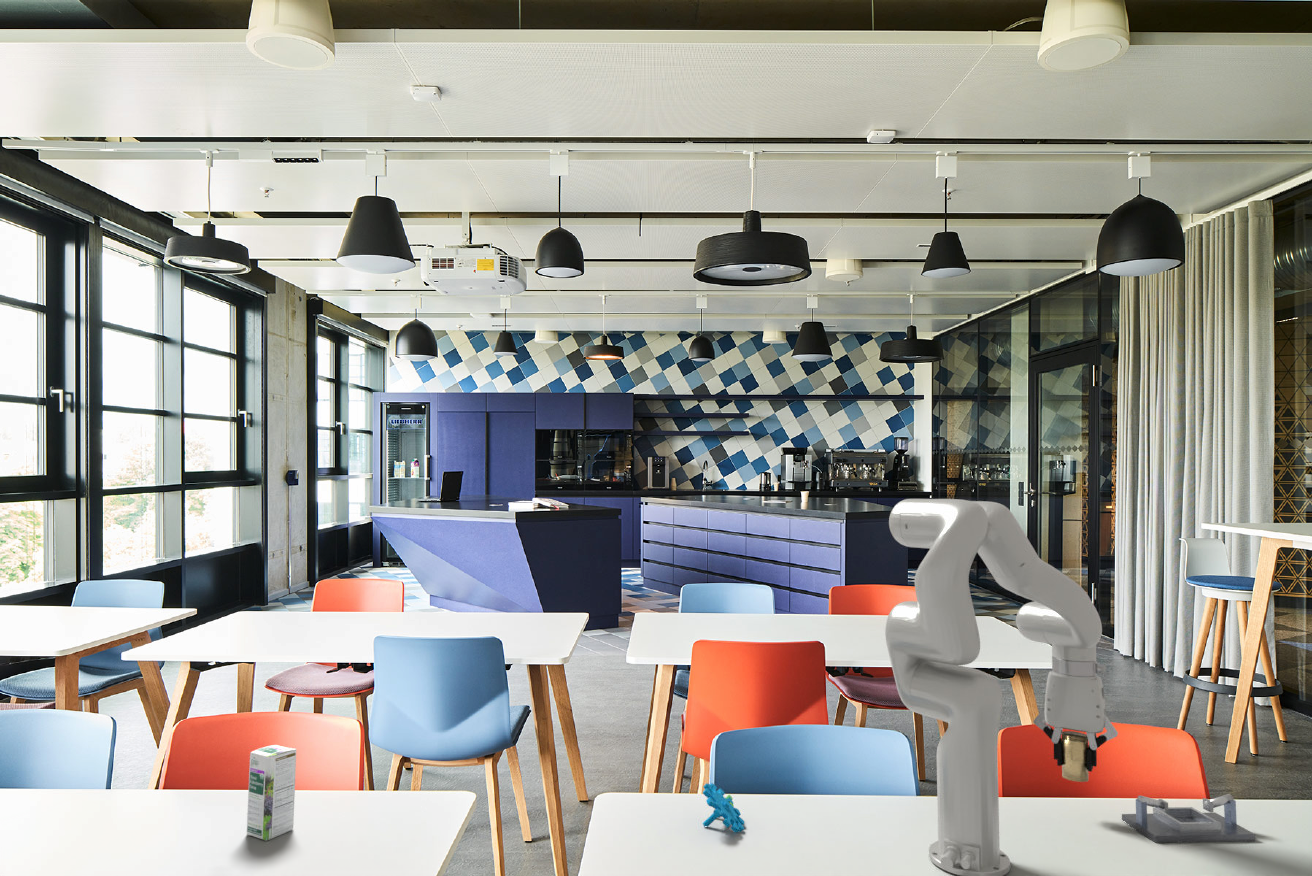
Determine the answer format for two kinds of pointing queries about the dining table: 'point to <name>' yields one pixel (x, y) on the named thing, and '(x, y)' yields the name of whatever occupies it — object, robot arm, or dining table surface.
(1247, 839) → the coupling stand
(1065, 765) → the cylinder
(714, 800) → the gear
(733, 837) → the dining table surface
